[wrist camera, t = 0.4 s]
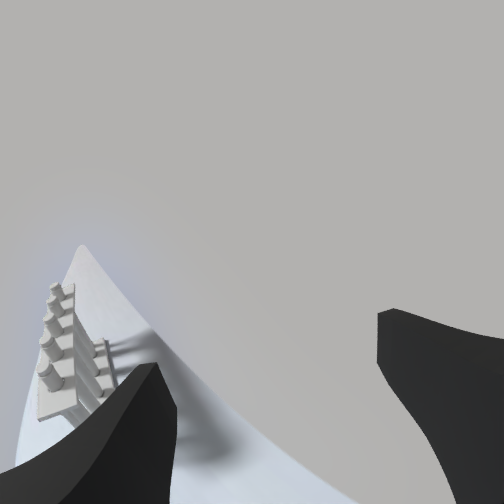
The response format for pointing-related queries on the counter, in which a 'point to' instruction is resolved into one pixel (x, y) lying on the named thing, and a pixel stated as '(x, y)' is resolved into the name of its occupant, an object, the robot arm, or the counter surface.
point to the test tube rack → (70, 363)
